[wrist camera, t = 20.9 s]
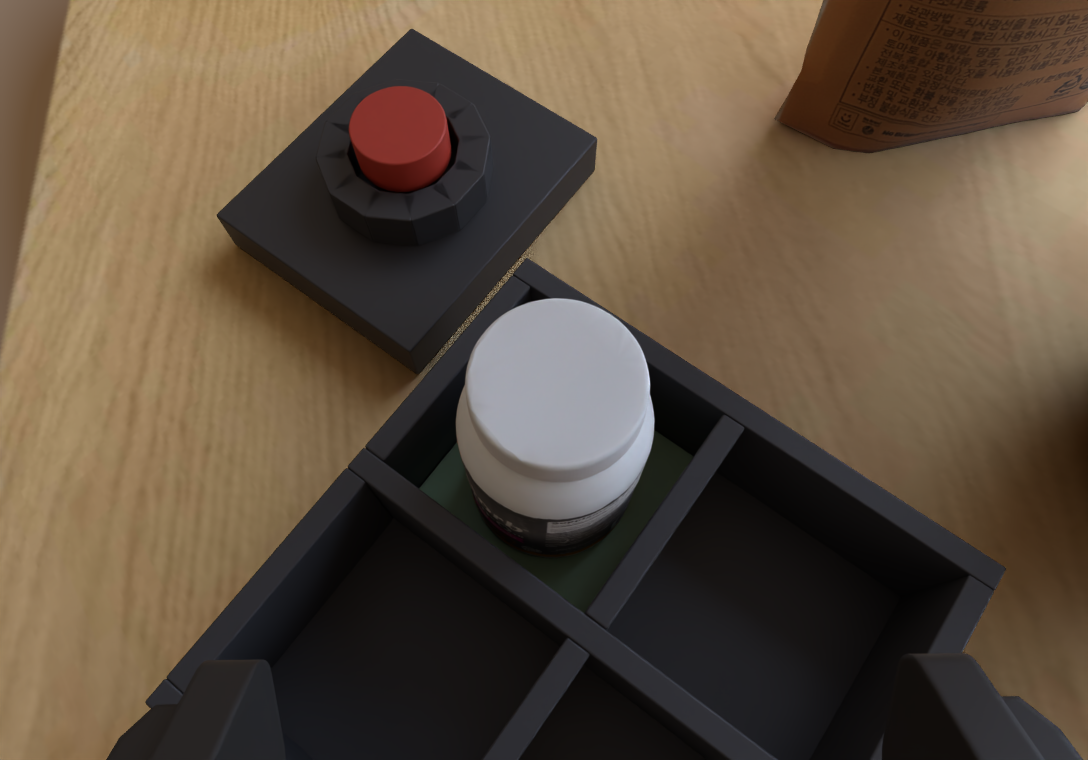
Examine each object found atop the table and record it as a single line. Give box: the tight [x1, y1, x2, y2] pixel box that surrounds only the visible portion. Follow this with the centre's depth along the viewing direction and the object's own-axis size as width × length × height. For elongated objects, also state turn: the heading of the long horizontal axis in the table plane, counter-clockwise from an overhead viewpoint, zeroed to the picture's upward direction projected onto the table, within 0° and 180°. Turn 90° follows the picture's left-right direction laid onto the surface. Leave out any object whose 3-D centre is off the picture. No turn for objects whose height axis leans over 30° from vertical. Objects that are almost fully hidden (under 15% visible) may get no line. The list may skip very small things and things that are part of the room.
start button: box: [349, 86, 451, 192], centre depth 31 cm, size 4×4×2 cm
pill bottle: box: [456, 298, 655, 558], centre depth 25 cm, size 6×6×10 cm
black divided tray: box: [146, 258, 1006, 760], centre depth 26 cm, size 17×17×6 cm
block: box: [217, 29, 597, 374], centre depth 33 cm, size 12×10×4 cm
